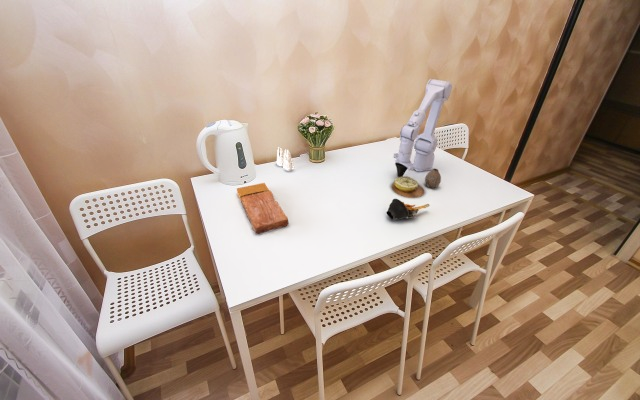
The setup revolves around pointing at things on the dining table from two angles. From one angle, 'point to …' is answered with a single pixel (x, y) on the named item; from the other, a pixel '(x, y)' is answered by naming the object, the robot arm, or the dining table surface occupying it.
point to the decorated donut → (405, 183)
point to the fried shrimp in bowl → (402, 210)
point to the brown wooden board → (262, 208)
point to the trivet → (411, 194)
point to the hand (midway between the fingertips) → (399, 176)
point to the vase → (433, 178)
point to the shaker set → (284, 159)
